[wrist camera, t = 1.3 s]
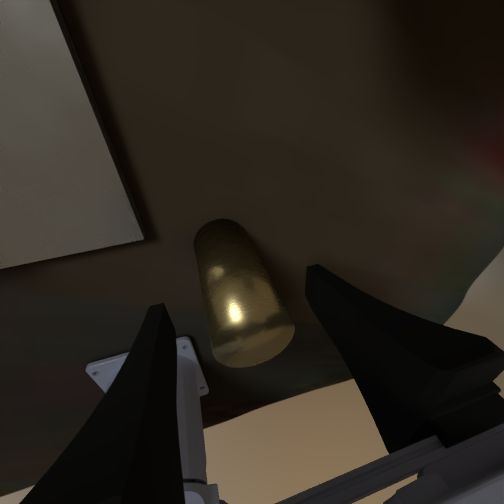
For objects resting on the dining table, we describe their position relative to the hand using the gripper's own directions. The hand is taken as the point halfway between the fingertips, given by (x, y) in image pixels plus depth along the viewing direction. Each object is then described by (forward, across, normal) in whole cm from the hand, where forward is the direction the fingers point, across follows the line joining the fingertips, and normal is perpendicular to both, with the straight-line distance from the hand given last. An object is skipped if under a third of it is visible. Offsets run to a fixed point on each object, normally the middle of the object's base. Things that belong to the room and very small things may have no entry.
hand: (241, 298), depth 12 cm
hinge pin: (+6, 0, 0) cm, 6 cm away
